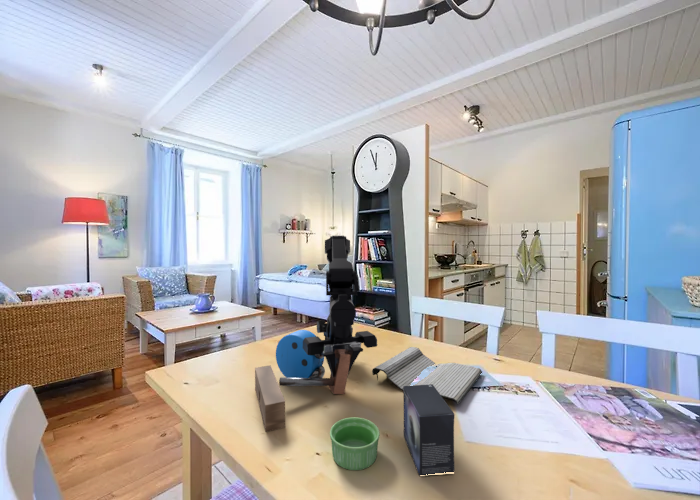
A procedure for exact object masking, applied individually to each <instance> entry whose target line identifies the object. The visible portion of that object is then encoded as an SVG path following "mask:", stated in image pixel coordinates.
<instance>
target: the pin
mask: <svg viewBox="0 0 700 500" xmlns="http://www.w3.org/2000/svg"><path fill="white" fill-rule="evenodd" d="M334 353H335V377H333V376H332V374H331V373H330V376H329V377H323V378H286V377H282V376H281V377H279V381H278V382H279V383H278V385H279V387H280V386H281V387H283V386H285V387H286V386H287V387H288V386H290V387H292V386H293V387H294V386H295V387H297V386H298V387H299V386H300V387H303V386H304V387H305V386H306V387H308V386H309V387H310V386H311V387H313V386H314V387H316V386H317V387H319V386H320V387H328V388H329V390H330V391H331V393H332V394H333V395H345V393H346V387H347V382H348V378H349V377H348V375H349V374H348V371H349V365H350V359H351V354H350V353H349V352H348V351H347V350H345V349H335V352H334Z"/></svg>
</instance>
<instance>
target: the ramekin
mask: <svg viewBox="0 0 700 500" xmlns="http://www.w3.org/2000/svg"><path fill="white" fill-rule="evenodd" d="M329 437H330V442H331V453H332V454H331V455H332V458H333V461H334V462H335V463H336V464H337V466H339V467H341V468H342V469H345V470H350V471H361V470H364V469H367V468H369V467H370V465H371V466H372V465H373V464H374V463H375V461H376V460H377V459H376V458H377V457H378V456H377V455H378V447H379V446H378V445H379V440H380V429H379V427H378V426H377V425H376V424H375V423H374V422H373V421H371V420H369V419H366V418H364V417H354V416H353V417H346V418H342V419H340V420H338V421H336V422H335V423H334V424H333V425H332V426H331V427H330V431H329Z"/></svg>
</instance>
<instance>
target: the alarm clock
mask: <svg viewBox="0 0 700 500" xmlns="http://www.w3.org/2000/svg"><path fill="white" fill-rule="evenodd" d="M316 336H317V335H316V334H315V333H313V332H312V331H311V330H307V329H300V330H299V329H298V330H296V331H294V332H291V333H289V334H286V335H284V336H283V337H282V338H280V340H279V341H278V343H277V345H276V350H275V359H276V364H277V367H278V369H279V371H280V373H282V375H283V376H284V378H324V376H325V373H326V369H325V367H324V366H323V365H324V363H325V357H324V356H323V355H322V354H318V355H307V353H306V352H305V351H304V349H303V340H304V339H305V338H307V337H316Z"/></svg>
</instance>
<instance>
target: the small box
mask: <svg viewBox="0 0 700 500" xmlns="http://www.w3.org/2000/svg"><path fill="white" fill-rule="evenodd" d="M402 391H403V393H402V394H403V438H404V440H405V443H406V445H407V448H408V451H409V454H410V456H411V459H412V461H413V464H414V466H415V469H416V468H417V469H416V471H418V472H417V474H418V473H419V474H418V476H419V475H426V474H427V475H428V474H435V473H444V472H445V473H446V472H454V471H455V413H454V411H453V410H452V409H451V407H450V406H449V405H448V403H447V402H446V400H445V399H444V397H442V396H441V395H440V394H439V392H438V391H437V390H436V388H435V387H434V386H433V384H430V385H413V386H403V390H402Z"/></svg>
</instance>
